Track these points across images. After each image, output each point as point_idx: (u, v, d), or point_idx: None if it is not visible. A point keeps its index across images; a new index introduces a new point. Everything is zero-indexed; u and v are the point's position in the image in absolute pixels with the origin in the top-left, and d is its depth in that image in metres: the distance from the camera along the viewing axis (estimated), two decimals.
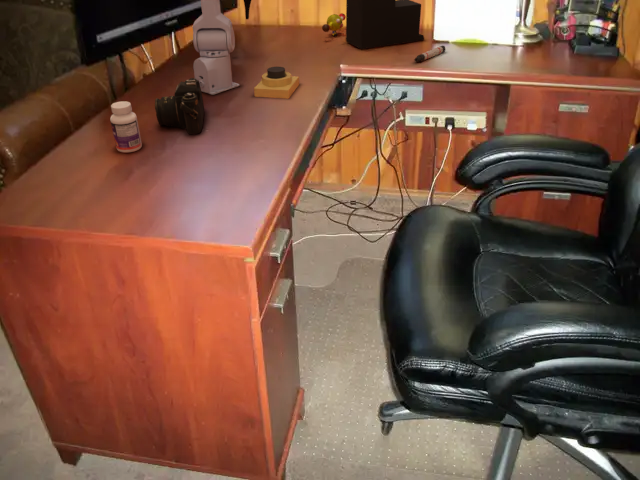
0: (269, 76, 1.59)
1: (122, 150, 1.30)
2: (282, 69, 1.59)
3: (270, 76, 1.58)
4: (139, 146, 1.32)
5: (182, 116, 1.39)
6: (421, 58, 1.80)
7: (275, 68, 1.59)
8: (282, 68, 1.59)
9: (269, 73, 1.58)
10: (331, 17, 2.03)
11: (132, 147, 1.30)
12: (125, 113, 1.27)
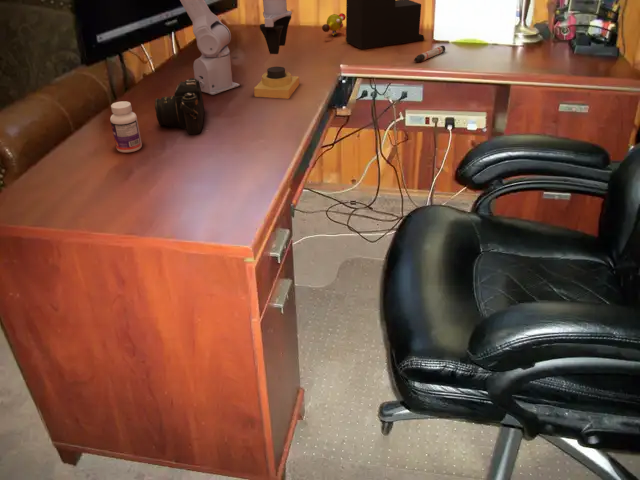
0: (269, 76, 1.59)
1: (122, 150, 1.30)
2: (282, 69, 1.59)
3: (270, 76, 1.58)
4: (139, 146, 1.32)
5: (182, 116, 1.39)
6: (421, 58, 1.80)
7: (275, 68, 1.59)
8: (282, 68, 1.59)
9: (269, 73, 1.58)
10: (331, 17, 2.03)
11: (132, 147, 1.30)
12: (125, 113, 1.27)
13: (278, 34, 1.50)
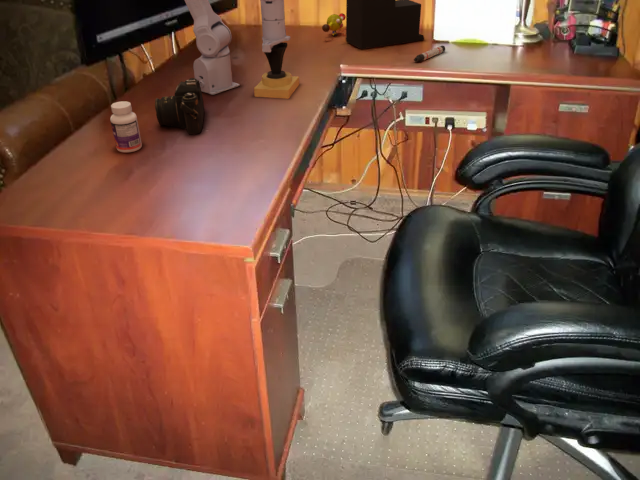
0: None
1: (122, 150, 1.30)
2: (282, 73, 1.59)
3: None
4: (139, 146, 1.32)
5: (182, 116, 1.39)
6: (421, 58, 1.80)
7: None
8: (282, 72, 1.60)
9: (269, 77, 1.59)
10: (331, 17, 2.03)
11: (132, 147, 1.30)
12: (125, 113, 1.27)
13: (279, 55, 1.55)
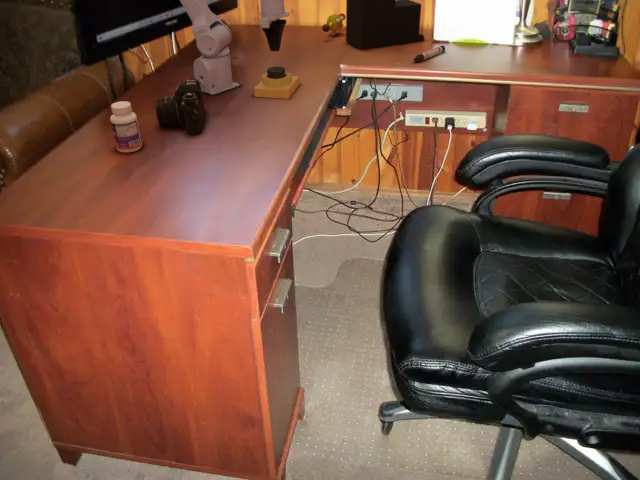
0: (269, 76, 1.59)
1: (122, 150, 1.30)
2: (282, 69, 1.59)
3: (270, 76, 1.58)
4: (139, 146, 1.32)
5: (182, 116, 1.39)
6: (420, 58, 1.80)
7: (275, 68, 1.59)
8: (282, 68, 1.59)
9: (269, 73, 1.58)
10: (331, 17, 2.03)
11: (132, 147, 1.30)
12: (125, 113, 1.27)
13: (278, 32, 1.52)
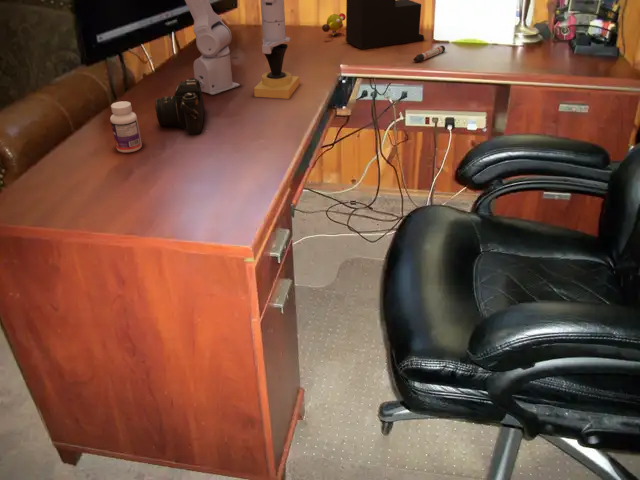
0: None
1: (122, 150, 1.30)
2: (282, 74, 1.59)
3: None
4: (139, 146, 1.32)
5: (182, 116, 1.39)
6: (420, 58, 1.80)
7: None
8: (282, 73, 1.60)
9: None
10: (331, 17, 2.03)
11: (132, 147, 1.30)
12: (125, 113, 1.27)
13: (280, 56, 1.55)
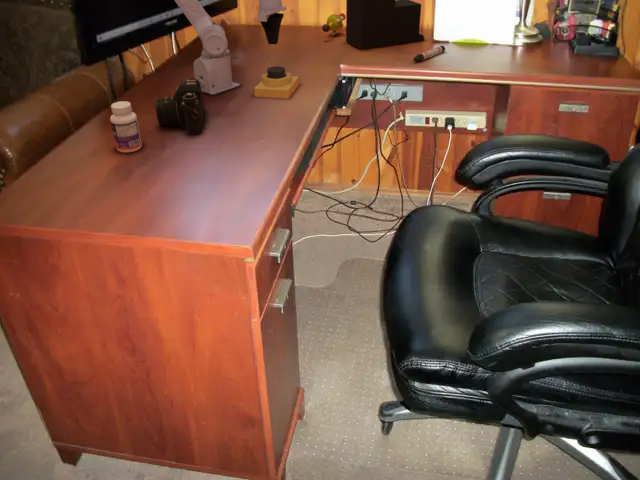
0: (269, 76, 1.59)
1: (122, 150, 1.30)
2: (282, 69, 1.59)
3: (270, 76, 1.58)
4: (139, 146, 1.32)
5: (182, 116, 1.39)
6: (420, 58, 1.80)
7: (275, 68, 1.59)
8: (282, 68, 1.59)
9: (269, 73, 1.58)
10: (331, 17, 2.03)
11: (132, 147, 1.30)
12: (125, 113, 1.27)
13: (276, 25, 1.57)
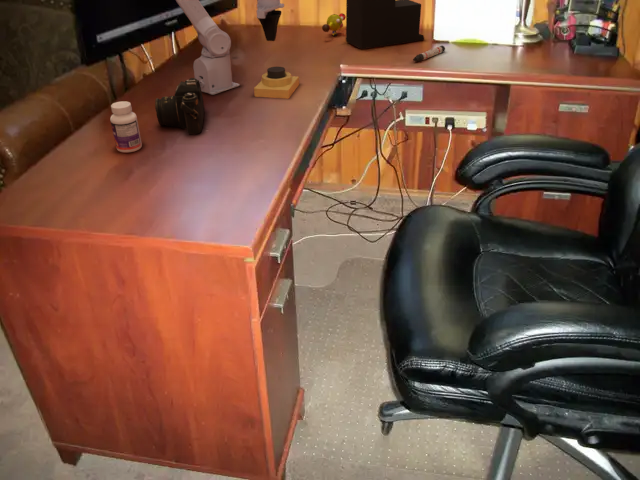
0: (269, 76, 1.59)
1: (122, 150, 1.30)
2: (282, 69, 1.59)
3: (270, 76, 1.58)
4: (139, 146, 1.32)
5: (182, 116, 1.39)
6: (420, 58, 1.80)
7: (275, 68, 1.59)
8: (282, 68, 1.59)
9: (269, 73, 1.58)
10: (331, 17, 2.03)
11: (132, 147, 1.30)
12: (125, 113, 1.27)
13: (274, 22, 1.60)
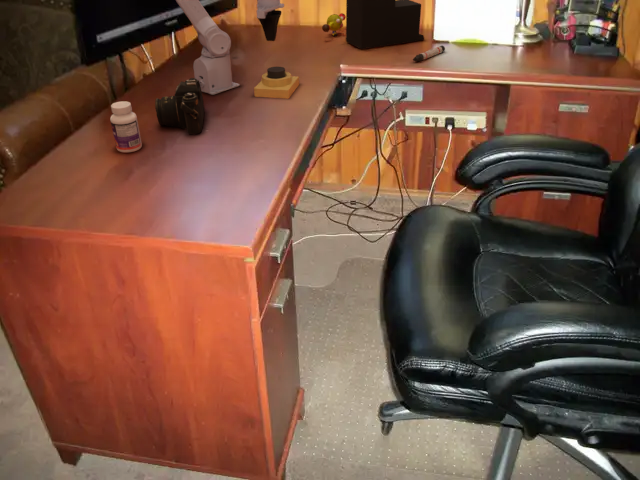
0: (269, 76, 1.59)
1: (122, 150, 1.30)
2: (282, 69, 1.59)
3: (270, 76, 1.58)
4: (139, 146, 1.32)
5: (182, 116, 1.39)
6: (420, 58, 1.80)
7: (275, 68, 1.59)
8: (282, 68, 1.59)
9: (269, 73, 1.58)
10: (331, 17, 2.03)
11: (132, 147, 1.30)
12: (125, 113, 1.27)
13: (274, 22, 1.60)
